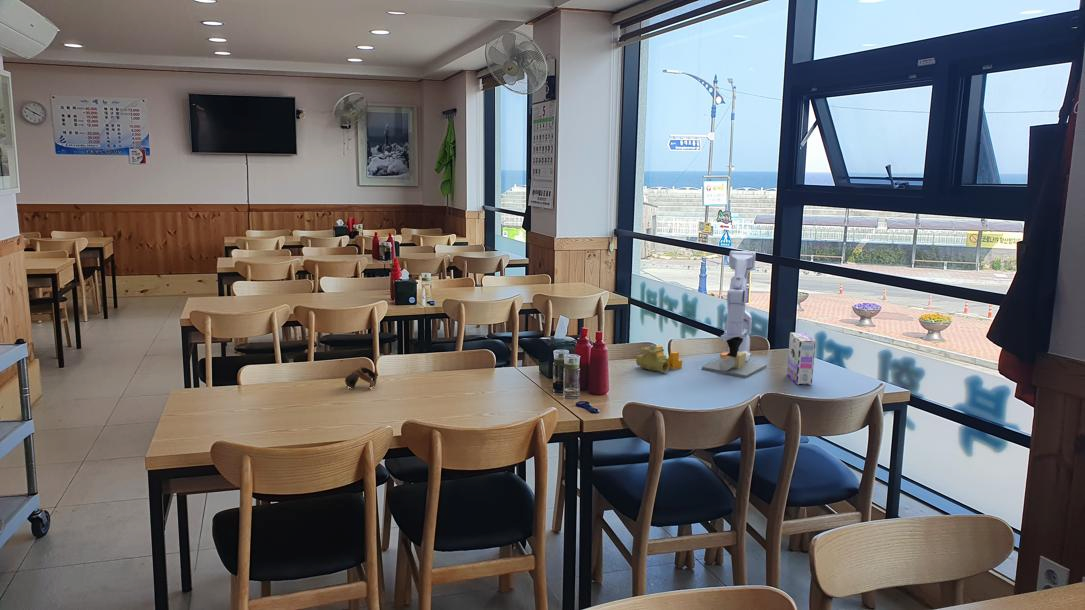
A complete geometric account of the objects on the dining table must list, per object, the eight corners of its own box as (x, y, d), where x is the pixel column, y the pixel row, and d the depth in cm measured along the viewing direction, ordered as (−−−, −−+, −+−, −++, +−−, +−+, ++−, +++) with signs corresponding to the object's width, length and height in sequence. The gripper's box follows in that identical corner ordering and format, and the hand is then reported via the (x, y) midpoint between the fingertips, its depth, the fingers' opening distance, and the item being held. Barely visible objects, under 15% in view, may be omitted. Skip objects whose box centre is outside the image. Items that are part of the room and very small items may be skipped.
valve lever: (733, 349, 315) (733, 346, 315) (739, 350, 314) (740, 347, 314) (719, 357, 304) (719, 354, 303) (726, 358, 302) (726, 355, 302)
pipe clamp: (681, 368, 314) (682, 352, 313) (672, 369, 312) (673, 353, 311) (662, 360, 325) (663, 345, 323) (653, 362, 322) (654, 346, 321)
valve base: (723, 359, 328) (724, 342, 326) (766, 367, 317) (767, 349, 315) (701, 369, 313) (702, 351, 311) (746, 378, 302) (747, 359, 301)
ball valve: (633, 368, 313) (634, 343, 311) (650, 364, 320) (651, 339, 318) (659, 375, 304) (660, 349, 302) (676, 370, 311) (677, 345, 309)
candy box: (812, 385, 294) (816, 341, 291) (796, 385, 294) (799, 340, 291) (802, 374, 307) (805, 332, 304) (786, 374, 308) (789, 331, 304)
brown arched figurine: (355, 384, 290) (367, 364, 289) (373, 399, 286) (384, 380, 285) (333, 384, 279) (345, 364, 278) (351, 400, 275) (363, 380, 274)
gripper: (737, 316, 311) (735, 350, 313) (714, 322, 301) (712, 358, 304) (753, 319, 305) (751, 354, 308) (730, 325, 296) (728, 362, 299)
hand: (733, 356), depth 306 cm, fingers closed, pressing on valve lever
